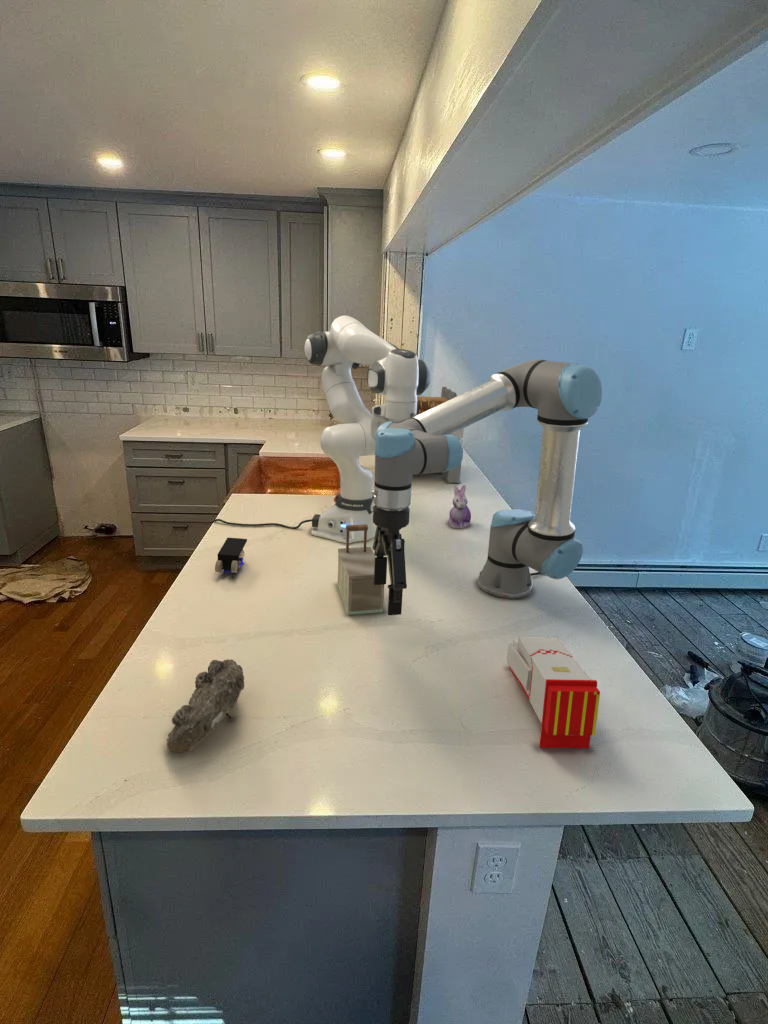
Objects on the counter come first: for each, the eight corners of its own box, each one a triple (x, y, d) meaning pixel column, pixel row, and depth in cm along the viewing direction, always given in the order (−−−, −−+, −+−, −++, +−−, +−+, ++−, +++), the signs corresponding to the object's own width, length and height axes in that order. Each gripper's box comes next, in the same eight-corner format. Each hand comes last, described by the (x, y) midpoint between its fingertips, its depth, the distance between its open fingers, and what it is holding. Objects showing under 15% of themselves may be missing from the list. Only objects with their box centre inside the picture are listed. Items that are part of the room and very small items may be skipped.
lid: (337, 551, 159) (338, 521, 156) (370, 549, 161) (371, 520, 158) (348, 579, 143) (349, 547, 140) (384, 577, 145) (386, 545, 142)
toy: (554, 620, 129) (609, 687, 99) (549, 674, 131) (601, 755, 102) (501, 619, 128) (541, 686, 99) (497, 673, 131) (534, 754, 102)
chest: (337, 584, 162) (338, 552, 158) (369, 582, 164) (370, 550, 160) (347, 614, 146) (348, 580, 143) (383, 612, 148) (384, 577, 145)
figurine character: (238, 584, 162) (249, 557, 175) (236, 562, 158) (247, 536, 172) (215, 584, 161) (227, 556, 175) (212, 561, 158) (225, 535, 171)
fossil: (192, 660, 117) (244, 628, 112) (224, 691, 120) (276, 661, 115) (142, 746, 98) (202, 712, 93) (182, 779, 101) (242, 748, 96)
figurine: (456, 530, 205) (460, 491, 199) (441, 521, 213) (444, 483, 208) (477, 527, 209) (481, 488, 204) (461, 518, 217) (465, 480, 212)
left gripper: (436, 415, 151) (433, 466, 155) (383, 405, 165) (382, 451, 169) (420, 417, 147) (417, 469, 151) (367, 407, 160) (366, 454, 165)
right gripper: (361, 487, 126) (359, 573, 133) (387, 528, 103) (382, 630, 110) (394, 486, 128) (390, 572, 135) (427, 527, 105) (419, 627, 112)
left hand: (398, 460), depth 160 cm, fingers open, 8 cm apart
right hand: (386, 598), depth 122 cm, fingers open, 13 cm apart
